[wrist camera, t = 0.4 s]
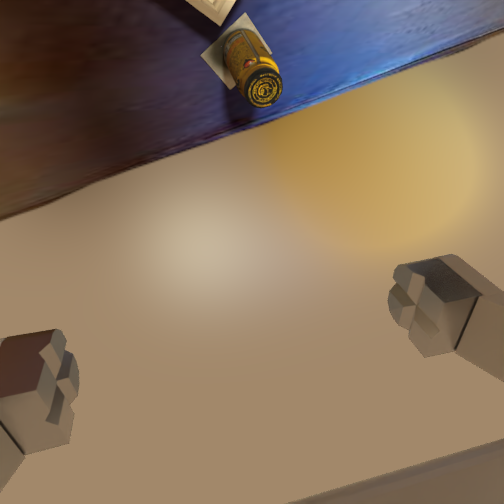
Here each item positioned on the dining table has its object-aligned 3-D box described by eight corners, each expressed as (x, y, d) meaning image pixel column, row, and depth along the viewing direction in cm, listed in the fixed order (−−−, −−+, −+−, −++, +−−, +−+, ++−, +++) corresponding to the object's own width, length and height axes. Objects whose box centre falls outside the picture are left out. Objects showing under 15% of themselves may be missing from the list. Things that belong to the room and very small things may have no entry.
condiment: (271, 52, 56) (298, 92, 49) (229, 89, 59) (248, 131, 52) (244, 11, 50) (269, 49, 43) (199, 54, 53) (216, 96, 46)
